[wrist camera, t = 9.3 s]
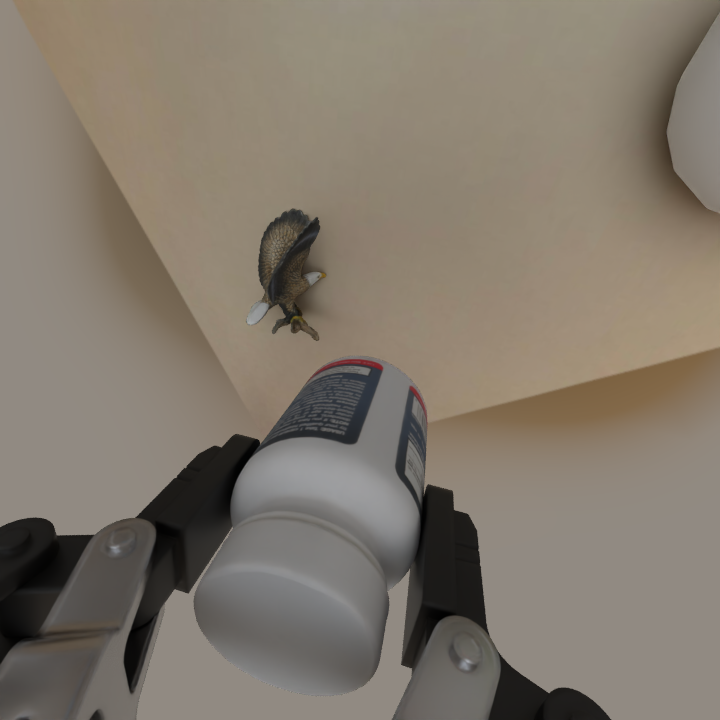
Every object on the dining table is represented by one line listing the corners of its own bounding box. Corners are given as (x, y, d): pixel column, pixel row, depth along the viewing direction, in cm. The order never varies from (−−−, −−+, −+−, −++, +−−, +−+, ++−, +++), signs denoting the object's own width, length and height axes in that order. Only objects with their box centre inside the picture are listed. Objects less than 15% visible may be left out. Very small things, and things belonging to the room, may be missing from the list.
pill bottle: (284, 417, 16) (130, 621, 8) (344, 327, 14) (212, 487, 6) (381, 482, 17) (324, 741, 9) (455, 404, 14) (471, 656, 6)
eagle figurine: (355, 323, 31) (347, 211, 26) (286, 357, 27) (261, 233, 22) (301, 300, 36) (286, 202, 31) (235, 327, 32) (206, 219, 27)
